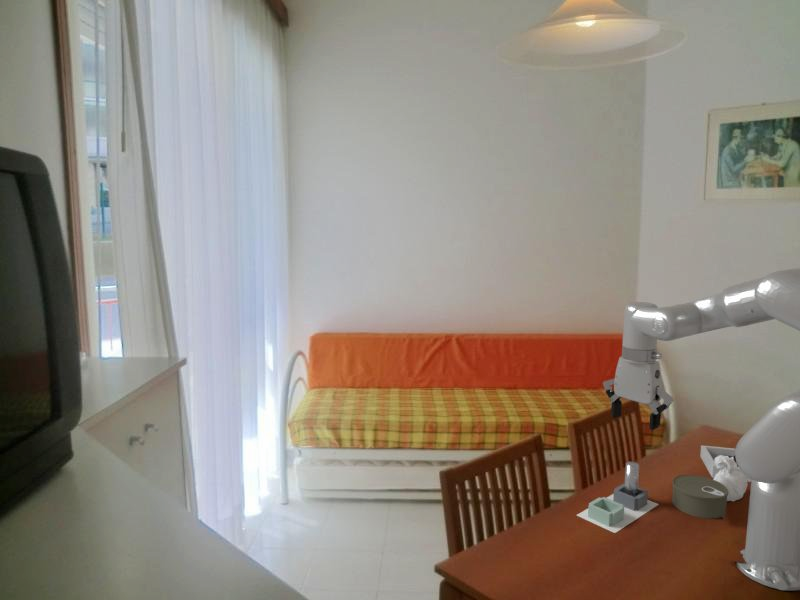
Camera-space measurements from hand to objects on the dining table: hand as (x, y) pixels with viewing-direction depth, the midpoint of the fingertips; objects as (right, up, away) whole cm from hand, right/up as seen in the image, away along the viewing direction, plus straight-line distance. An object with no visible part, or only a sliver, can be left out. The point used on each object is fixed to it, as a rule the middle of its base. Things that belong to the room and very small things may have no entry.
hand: (634, 422), depth 138 cm
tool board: (-4, -22, 0) cm, 23 cm away
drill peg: (0, -20, +3) cm, 21 cm away
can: (+16, -22, +1) cm, 28 cm away
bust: (+28, -21, +9) cm, 36 cm away
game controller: (+37, -19, +25) cm, 48 cm away
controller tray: (+38, -19, +24) cm, 49 cm away
